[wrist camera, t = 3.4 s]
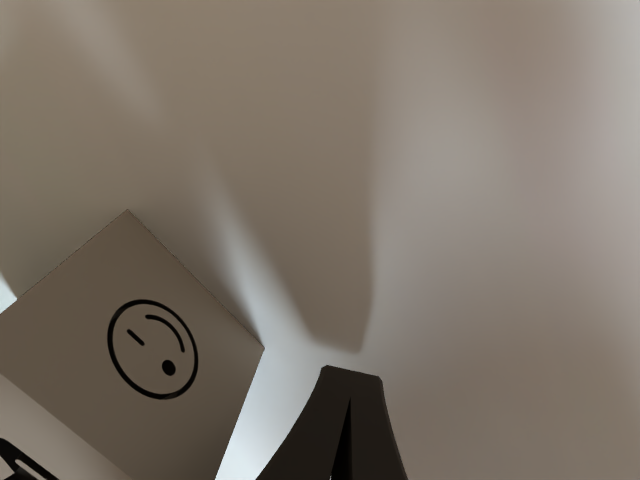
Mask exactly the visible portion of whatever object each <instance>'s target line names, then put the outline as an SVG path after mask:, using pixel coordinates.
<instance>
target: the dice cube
mask: <svg viewBox="0 0 640 480" xmlns="http://www.w3.org/2000/svg"><path fill="white" fill-rule="evenodd" d="M263 351H264V347H263V346H262V345H261V344H260V343H259V342H258V341H257V340H256V339H255V338H254V337H253V336H252V335H251V334H250V333H249V332H248V331H247V330H246V329H245V328H244V327H243V326H242V325H241V324H240V323H239V322H238V321H237V320H236V319H235V318H234V317H233V316H232V314H231V313H230V312H229V311H228V310H227V309H226V308H225V307H224V306H223V305H222V304H221V303H220V302H219V301H218V300H217V299H216V298H215V297H214V296H213V295H212V294H211V293H210V292H209V291H208V290H207V289H206V288H205V287H204V286H203V285H202V284H201V283H200V282H199V281H198V280H197V279H196V278H195V277H194V276H193V275H192V274H191V273H190V272H189V271H188V270H187V269H186V268H185V267H184V266H183V265H182V264H181V263H180V262H179V261H178V260H177V259H176V258H175V257H174V256H173V255H172V254H171V253H170V252H169V251H168V250H167V249H166V248H165V247H164V246H163V245H162V244H161V243H160V242H159V241H158V240H157V239H156V238H155V237H154V236H153V235H152V234H151V233H150V232H149V231H148V230H147V229H146V227H145V226H144V225H143V224H142V223H141V222H140V221H139V220H138V219H137V218H136V217H135V216H134V215H133V214H132V213H131V212H130V211H129V210H128V209H127V210H126V211H125V212H123V213H122V214H121V215H120V216H119V217H117V218H116V219H115V220H114V221H113V222H111V223H110V224H109V225H108V226H106V227H105V228H104V229H103V230H102V231H100V232H99V233H98V234H97V235H96V236H94V237H93V238H92V239H91V240H89V241H88V242H87V243H86V244H85V245H83V246H82V247H81V248H80V249H79V250H77V251H76V252H75V253H74V254H72V255H71V256H70V257H69V258H68V259H66V260H65V261H64V262H63V263H61V264H60V265H59V266H58V267H57V268H55V269H54V270H53V271H52V272H51V273H49V274H48V275H47V276H46V277H44V278H43V279H42V280H41V281H40V282H38V283H37V284H36V285H35V286H34V287H32V288H31V289H30V290H29V291H27V292H26V293H25V294H24V295H23V296H21V297H20V298H19V299H18V300H17V301H15V302H14V303H13V304H12V305H10V306H9V307H8V308H7V309H6V310H4V311H3V312H2V313H1V314H0V480H215V478H216V475H217V472H218V470H219V467H220V464H221V462H222V459H223V457H224V454H225V451H226V449H227V446H228V443H229V441H230V438H231V435H232V433H233V430H234V428H235V425H236V422H237V420H238V417H239V414H240V412H241V409H242V406H243V404H244V401H245V399H246V396H247V393H248V391H249V388H250V385H251V383H252V380H253V377H254V375H255V372H256V369H257V367H258V364H259V362H260V359H261V356H262V354H263Z"/></svg>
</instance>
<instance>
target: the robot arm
mask: <svg viewBox="0 0 640 480" xmlns="http://www.w3.org/2000/svg"><path fill="white" fill-rule="evenodd" d="M330 476H331V480H408V478H407V475H406V472H405V469H404V467H403V463H402V460H401V457H400V454H399V451H398V448H397V444H396V441H395V438H394V434H393V431H392V427H391V423H390V419H389V415H388V411H387V407H386V402H385V397H384V391H383V384H382V380H381V379H380V378H379V376H374V375H370V374H365V373H361V372H356V371H351V370H347V369H342V368H338V367H333V366H329V365H326V366H324V367H322V368H321V372H320V375H319V378H318V380H317V383H316V385H315V388H314V390H313V392H312V394H311V396H310V398H309V400H308V402H307V403H306V405H305V407H304V409H303V411H302V412H301V414H300V416H299V417H298V419H297V421H296V422H295V424H294V426H293V427H292V429H291V430H290V432H289V434H288V435H287V437H286V438H285V440H284V441H283V443H282V444H281V445H280V447H279V448H278V450H277V451H276V452H275V454H274V455H273V457H272V458H271V460H270V461H269V462H268V464H267V465H266V467H265V468H264V469H263V471H262V472H261V473H260V474H259V476H258V477H257V478H256V480H330Z"/></svg>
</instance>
